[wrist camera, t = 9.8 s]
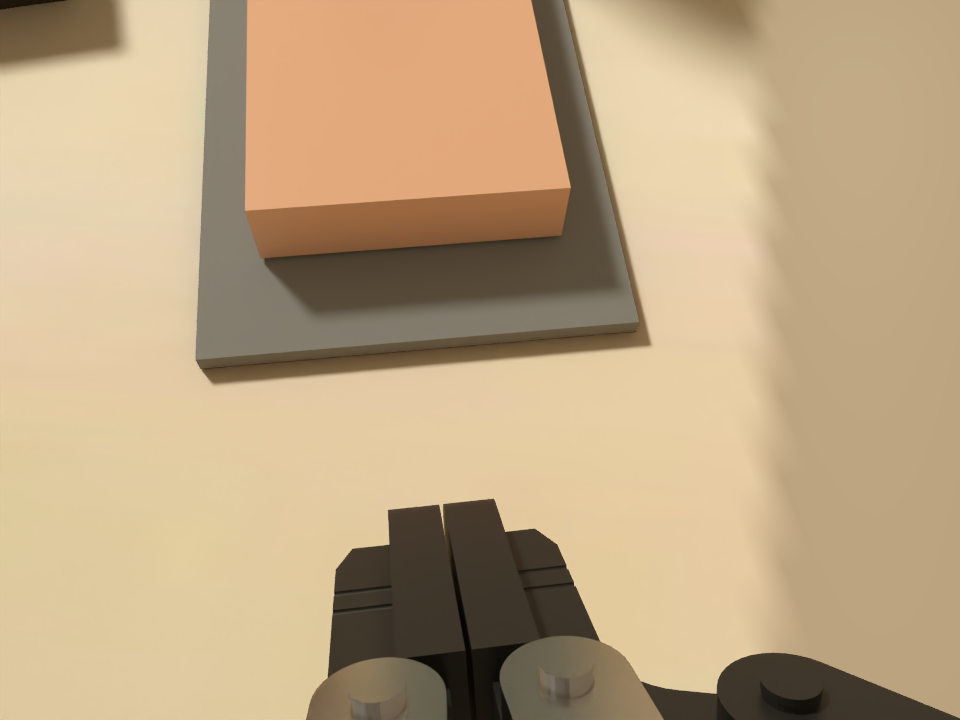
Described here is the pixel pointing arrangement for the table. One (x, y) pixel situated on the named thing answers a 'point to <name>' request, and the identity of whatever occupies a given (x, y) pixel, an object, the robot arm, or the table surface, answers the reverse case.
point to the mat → (401, 271)
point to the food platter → (22, 3)
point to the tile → (398, 126)
